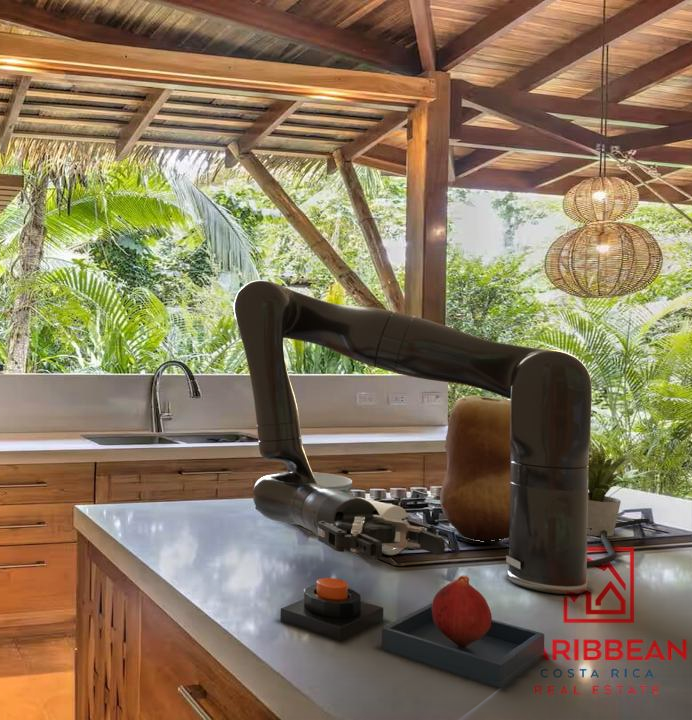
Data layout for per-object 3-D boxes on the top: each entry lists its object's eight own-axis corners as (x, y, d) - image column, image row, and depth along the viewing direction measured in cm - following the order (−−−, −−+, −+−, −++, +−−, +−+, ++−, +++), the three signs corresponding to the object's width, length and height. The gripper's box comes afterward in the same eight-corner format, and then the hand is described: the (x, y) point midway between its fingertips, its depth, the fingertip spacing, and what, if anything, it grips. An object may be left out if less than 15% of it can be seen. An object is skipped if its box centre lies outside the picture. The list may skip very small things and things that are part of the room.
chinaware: (275, 525, 137) (275, 484, 136) (266, 507, 151) (267, 470, 151) (360, 529, 134) (360, 487, 134) (342, 510, 149) (343, 472, 149)
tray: (430, 622, 90) (431, 602, 90) (544, 655, 80) (544, 633, 80) (381, 648, 82) (381, 627, 82) (500, 688, 73) (500, 665, 73)
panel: (324, 603, 96) (324, 576, 96) (383, 621, 90) (383, 592, 90) (280, 621, 90) (280, 593, 90) (340, 642, 84) (340, 612, 84)
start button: (326, 589, 93) (326, 575, 93) (353, 597, 90) (353, 583, 90) (310, 595, 90) (311, 581, 90) (337, 604, 88) (338, 589, 88)
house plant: (672, 547, 122) (674, 450, 122) (580, 543, 124) (582, 447, 124) (623, 526, 136) (624, 438, 136) (541, 523, 138) (542, 437, 138)
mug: (377, 559, 116) (378, 508, 116) (327, 543, 125) (328, 497, 124) (426, 548, 122) (427, 500, 121) (375, 534, 130) (375, 490, 130)
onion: (433, 652, 80) (434, 579, 80) (429, 632, 85) (430, 564, 85) (494, 661, 78) (496, 586, 77) (486, 640, 83) (487, 570, 83)
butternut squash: (539, 555, 117) (542, 400, 117) (447, 549, 121) (449, 398, 121) (512, 533, 131) (515, 394, 130) (430, 528, 135) (432, 392, 134)
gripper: (293, 494, 105) (358, 521, 89) (384, 490, 107) (463, 516, 91) (293, 546, 105) (358, 582, 89) (383, 541, 107) (462, 575, 91)
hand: (411, 549), depth 90 cm, fingers open, 8 cm apart
